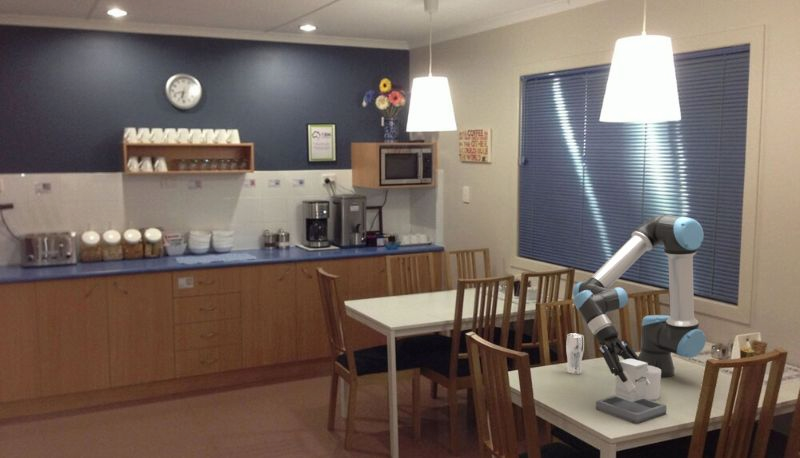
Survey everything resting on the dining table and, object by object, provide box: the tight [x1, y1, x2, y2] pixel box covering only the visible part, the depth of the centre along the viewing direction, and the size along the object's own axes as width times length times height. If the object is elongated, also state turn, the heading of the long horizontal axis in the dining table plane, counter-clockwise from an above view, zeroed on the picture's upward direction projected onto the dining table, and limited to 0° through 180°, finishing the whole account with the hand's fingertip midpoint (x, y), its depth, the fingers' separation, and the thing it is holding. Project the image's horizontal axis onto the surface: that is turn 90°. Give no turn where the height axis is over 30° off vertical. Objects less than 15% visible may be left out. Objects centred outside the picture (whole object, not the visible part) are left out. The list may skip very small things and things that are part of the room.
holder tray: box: [595, 394, 667, 425], centre depth 249 cm, size 16×16×3 cm
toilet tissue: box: [645, 365, 662, 401], centre depth 265 cm, size 11×12×10 cm
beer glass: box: [565, 333, 585, 375], centre depth 293 cm, size 7×7×15 cm
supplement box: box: [614, 359, 648, 402], centre depth 248 cm, size 7×7×13 cm
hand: (639, 387), depth 246 cm, fingers closed on supplement box, 7 cm apart
